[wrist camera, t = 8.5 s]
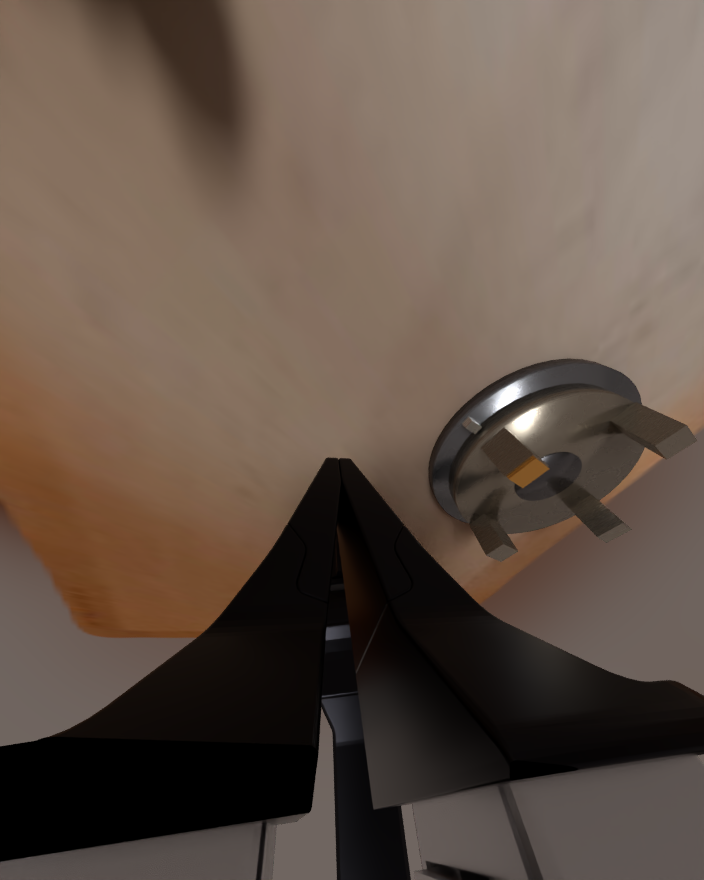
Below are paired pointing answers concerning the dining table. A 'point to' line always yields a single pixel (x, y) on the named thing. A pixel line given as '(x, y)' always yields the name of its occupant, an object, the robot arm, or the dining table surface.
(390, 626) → the robot arm
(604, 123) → the dining table surface
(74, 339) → the dining table surface
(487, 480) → the round fixture plate
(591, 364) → the base plate
